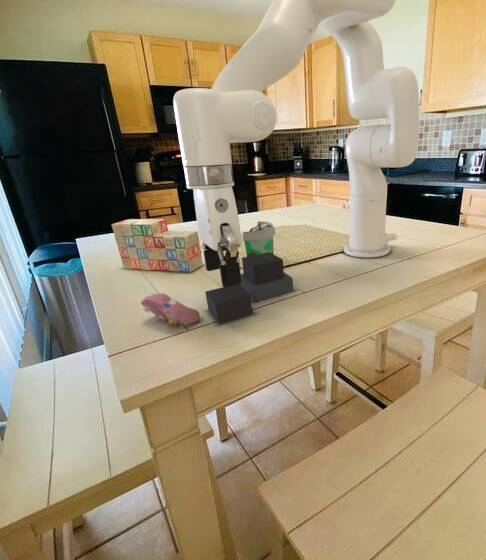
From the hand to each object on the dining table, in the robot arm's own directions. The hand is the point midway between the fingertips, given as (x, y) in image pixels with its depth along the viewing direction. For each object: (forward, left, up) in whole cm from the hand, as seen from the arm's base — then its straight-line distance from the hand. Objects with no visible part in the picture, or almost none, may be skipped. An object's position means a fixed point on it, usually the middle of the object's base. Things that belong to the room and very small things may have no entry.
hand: (223, 276), depth 60 cm
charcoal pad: (-10, -6, -4) cm, 13 cm away
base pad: (-10, -6, -7) cm, 14 cm away
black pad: (0, 0, -7) cm, 7 cm away
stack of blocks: (+6, -37, -8) cm, 38 cm away
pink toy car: (+10, -3, -8) cm, 13 cm away
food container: (-17, -21, -8) cm, 28 cm away
